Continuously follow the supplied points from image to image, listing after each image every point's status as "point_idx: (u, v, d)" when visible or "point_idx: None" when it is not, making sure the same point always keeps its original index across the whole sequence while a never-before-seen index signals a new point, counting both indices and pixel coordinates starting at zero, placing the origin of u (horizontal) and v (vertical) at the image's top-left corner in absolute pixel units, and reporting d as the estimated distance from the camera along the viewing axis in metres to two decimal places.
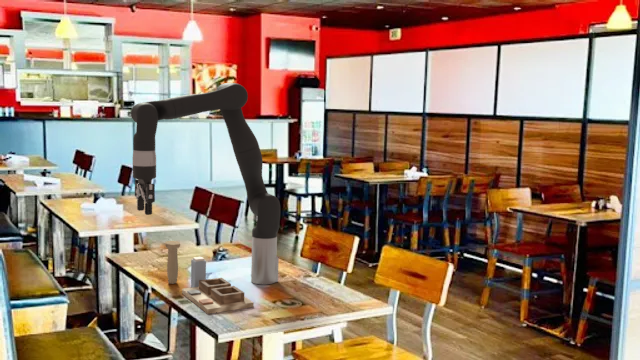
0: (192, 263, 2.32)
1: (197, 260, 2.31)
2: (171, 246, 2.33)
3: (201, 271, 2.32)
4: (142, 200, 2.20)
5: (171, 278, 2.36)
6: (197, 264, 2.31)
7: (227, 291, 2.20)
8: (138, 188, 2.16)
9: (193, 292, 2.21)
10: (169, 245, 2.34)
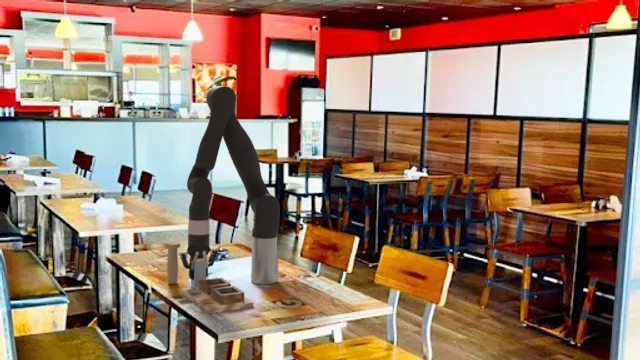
0: None
1: (197, 260, 2.31)
2: (171, 246, 2.33)
3: (201, 271, 2.32)
4: None
5: (171, 278, 2.36)
6: (197, 264, 2.31)
7: (227, 291, 2.20)
8: (197, 255, 2.31)
9: (193, 292, 2.21)
10: (169, 245, 2.34)
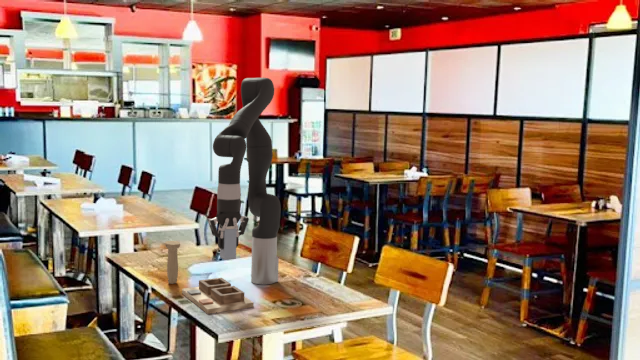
0: None
1: (227, 228, 2.12)
2: (171, 246, 2.33)
3: (232, 239, 2.13)
4: None
5: (171, 278, 2.36)
6: (228, 232, 2.11)
7: (227, 291, 2.20)
8: (228, 222, 2.11)
9: (193, 292, 2.21)
10: (169, 245, 2.34)
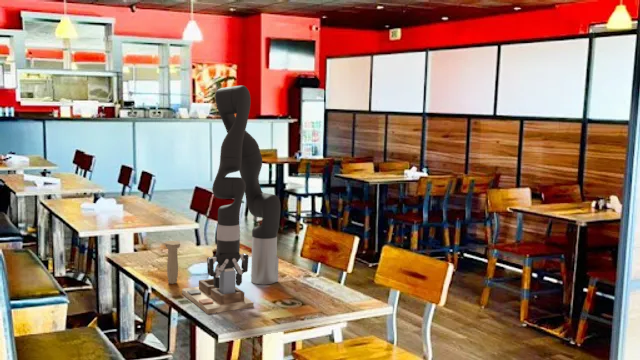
0: (221, 273, 2.15)
1: (226, 270, 2.13)
2: (171, 246, 2.33)
3: (231, 282, 2.14)
4: None
5: (171, 278, 2.36)
6: (227, 274, 2.13)
7: None
8: (226, 263, 2.13)
9: (193, 292, 2.21)
10: (169, 245, 2.34)
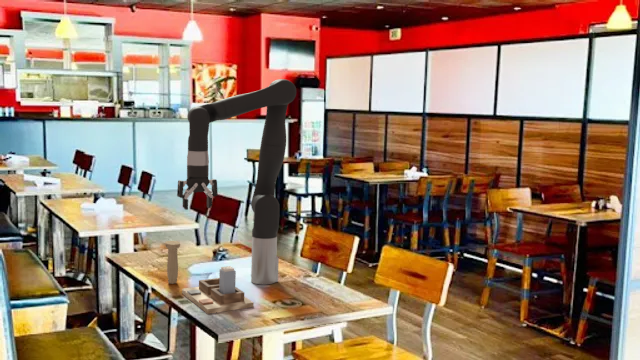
0: (221, 273, 2.15)
1: (226, 270, 2.13)
2: (171, 246, 2.33)
3: (231, 282, 2.14)
4: None
5: (171, 278, 2.36)
6: (227, 274, 2.13)
7: None
8: (195, 187, 2.30)
9: (193, 292, 2.21)
10: (169, 245, 2.34)
